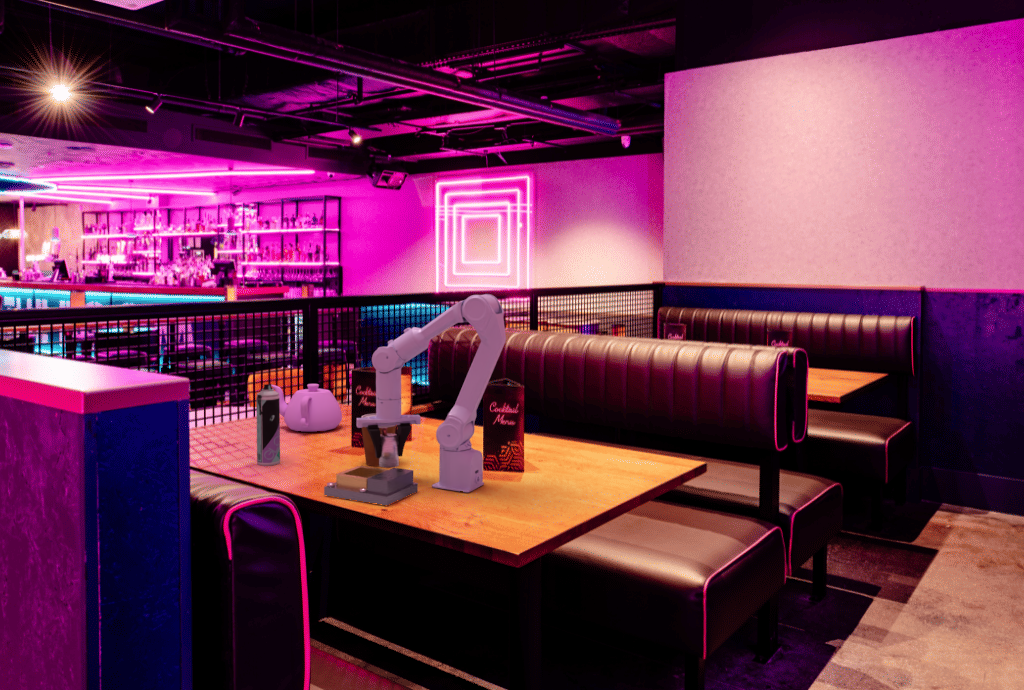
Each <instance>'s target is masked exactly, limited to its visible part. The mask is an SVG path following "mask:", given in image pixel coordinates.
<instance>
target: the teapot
mask: <svg viewBox="0 0 1024 690" xmlns="http://www.w3.org/2000/svg"><path fill="white" fill-rule="evenodd" d="M270 384H271V383H270ZM306 386H307V388H305V389H304V388H303V389H299V390H296V391H295V392H294V393H293V394H292V397H291V398H290V400H289V402H288V403H286V401H285V398H284V397H285V396H284V391H283V389H282V388H281V387H280V386H278V385H275V384H271V387H272V388H273V389H274V391H276V392H277V393H279V405H280V415H281V416H282V418H283V421H284V423H285V424H286V426H287V427H288V428H289V430H292V431H295V432H298V431H301V432H305V433H306V432H311V433H312V432H317V431H324V432H326V431H329V430H333V429H336V428H337V427H338V426H339V425H340V424H341V422H342V420H343V415H342V414H343V413H342V410H341V409H342V408H341V407H340V403H339V402H338V400H337V398H336V397H335V396H334V394H333V392H332V391H331V390H330V389H325V388H319V386H320V384H318V383H308V384H307V385H306Z"/></svg>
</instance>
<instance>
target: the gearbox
mask: <svg viewBox="0 0 1024 690" xmlns="http://www.w3.org/2000/svg"><path fill="white" fill-rule="evenodd" d="M335 475H336V476H335V482H327V483H326V485H325V486H324V487H323V490H324V491H323V496H324V495H327V496H326V497H328V496H334V497H339V498H338V499H340V498H345V499H344V500H346V499H351V500H350V501H352V500H357V501H356V502H358V501H363V502H362V503H364V502H370V503H377V504H382V505H389V504H391V503H393V502H395V501H397V500H399V501H401V500H403V499H402V498H404V497H406V496H408V495H410V494H412V493H414V494H416V493H418V492H417V491H418V487H419V483H418V482H415V481H414V470H413V469H406V468H399V467H392V468H390V469H388V468H381V467H379V468H378V467H374V466H366V465H360V466H358V465H357V466H354V467H351V468H349V469H345V470H343V471H340V472H337V473H336V474H335ZM415 492H416V493H415ZM412 495H413V494H412ZM410 496H411V495H410ZM334 497H333V498H334ZM408 497H409V496H408ZM406 498H407V497H406ZM400 499H401V500H400ZM404 499H405V498H404ZM397 502H398V501H397ZM395 503H396V502H395ZM393 504H394V503H393ZM391 505H392V504H391ZM389 506H390V505H389Z"/></svg>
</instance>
